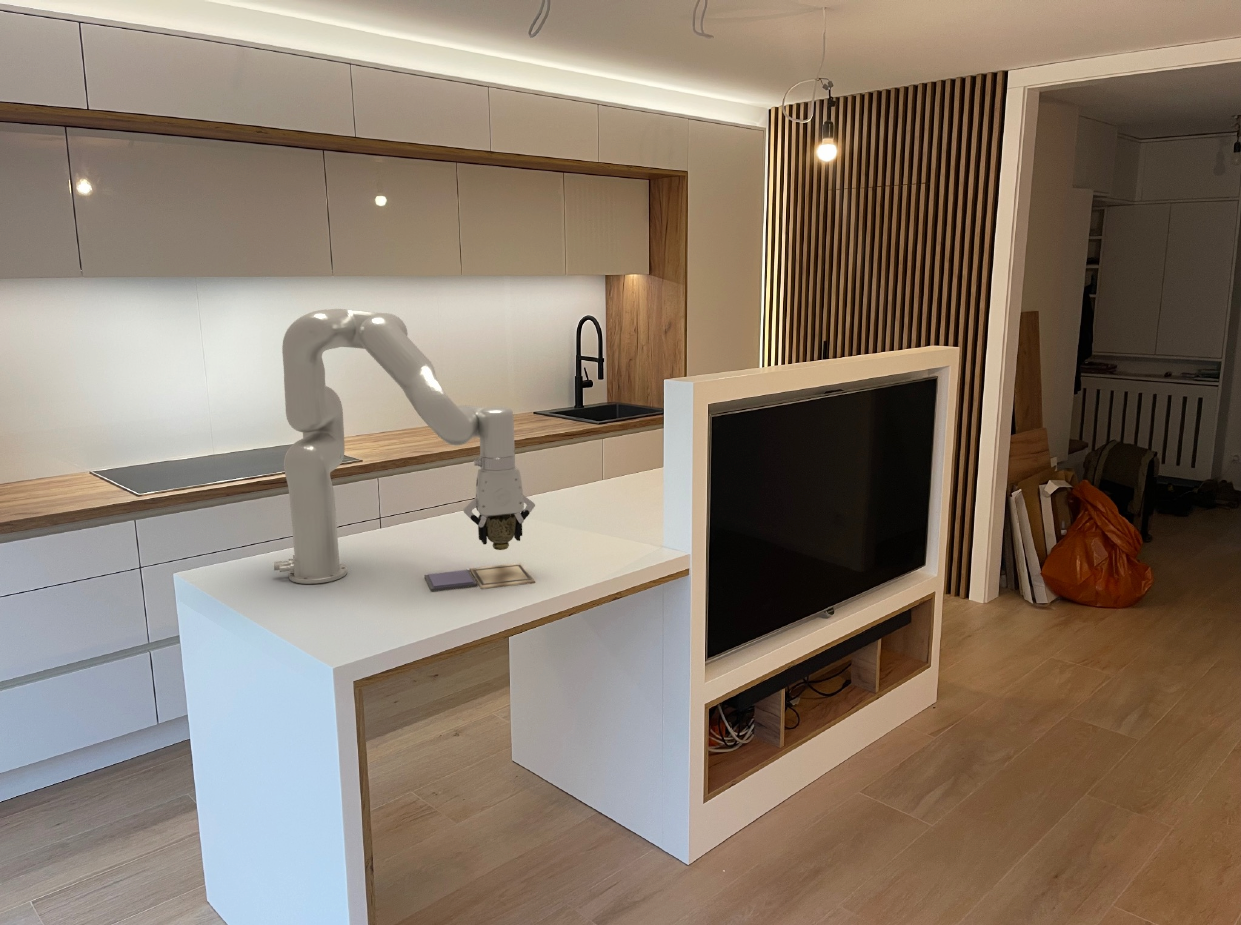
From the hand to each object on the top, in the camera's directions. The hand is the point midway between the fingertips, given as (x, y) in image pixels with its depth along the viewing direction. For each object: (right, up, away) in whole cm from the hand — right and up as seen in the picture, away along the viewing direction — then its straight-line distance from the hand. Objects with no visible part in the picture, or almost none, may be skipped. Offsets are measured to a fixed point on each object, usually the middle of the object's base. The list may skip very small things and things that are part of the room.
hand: (500, 540), depth 208 cm
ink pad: (-11, -9, -2) cm, 14 cm away
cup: (0, -2, 0) cm, 2 cm away
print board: (0, -8, +2) cm, 8 cm away
